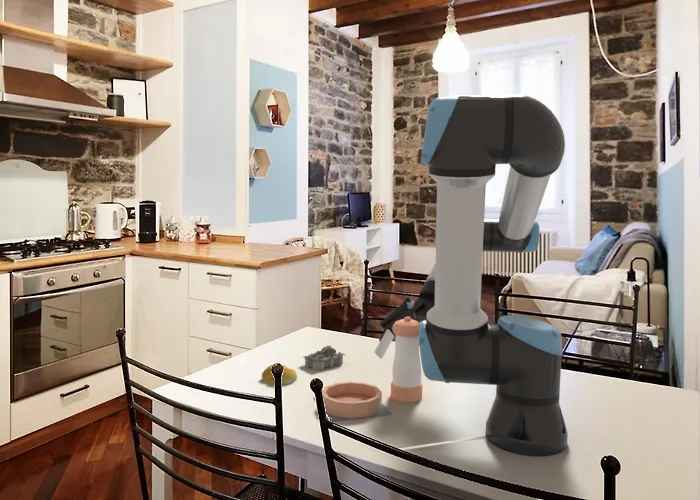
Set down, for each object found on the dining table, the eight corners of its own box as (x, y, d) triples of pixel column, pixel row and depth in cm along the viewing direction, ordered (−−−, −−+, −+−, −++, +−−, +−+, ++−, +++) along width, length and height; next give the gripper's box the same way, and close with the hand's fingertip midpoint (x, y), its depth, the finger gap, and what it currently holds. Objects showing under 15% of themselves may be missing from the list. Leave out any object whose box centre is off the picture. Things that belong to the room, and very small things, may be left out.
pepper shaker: (386, 401, 126) (388, 318, 124) (395, 390, 133) (396, 312, 131) (418, 405, 123) (419, 321, 121) (425, 394, 130) (426, 314, 128)
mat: (392, 416, 117) (392, 414, 117) (329, 424, 113) (329, 422, 113) (370, 393, 131) (370, 391, 130) (313, 399, 126) (313, 398, 126)
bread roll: (276, 390, 133) (276, 374, 133) (257, 380, 140) (256, 365, 140) (304, 382, 139) (304, 366, 138) (284, 373, 145) (284, 358, 145)
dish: (389, 413, 118) (389, 399, 117) (331, 420, 114) (331, 406, 113) (369, 392, 130) (369, 379, 129) (316, 398, 126) (316, 385, 126)
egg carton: (331, 358, 159) (331, 344, 159) (347, 364, 153) (347, 350, 153) (300, 365, 152) (300, 350, 152) (316, 372, 147) (316, 357, 146)
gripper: (490, 304, 128) (454, 382, 119) (405, 291, 145) (367, 358, 136) (479, 284, 124) (441, 364, 115) (392, 273, 141) (352, 342, 131)
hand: (400, 361), depth 125 cm, fingers open, 13 cm apart
